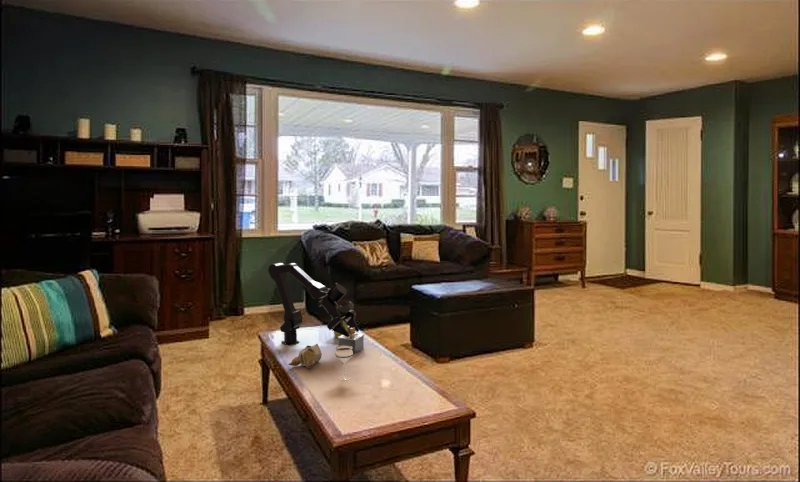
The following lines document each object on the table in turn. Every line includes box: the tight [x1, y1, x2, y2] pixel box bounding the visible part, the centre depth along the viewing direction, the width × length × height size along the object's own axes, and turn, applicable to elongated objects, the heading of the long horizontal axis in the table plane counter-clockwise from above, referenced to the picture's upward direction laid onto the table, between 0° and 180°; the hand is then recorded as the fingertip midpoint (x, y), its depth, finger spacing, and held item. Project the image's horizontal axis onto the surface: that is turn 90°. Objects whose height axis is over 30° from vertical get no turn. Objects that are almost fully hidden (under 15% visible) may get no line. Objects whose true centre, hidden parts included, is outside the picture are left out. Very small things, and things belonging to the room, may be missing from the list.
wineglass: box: [335, 345, 354, 381], centre depth 198 cm, size 7×7×12 cm
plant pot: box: [333, 321, 349, 339], centre depth 255 cm, size 9×9×9 cm
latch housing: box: [337, 332, 365, 355], centre depth 234 cm, size 9×11×7 cm
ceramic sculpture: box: [288, 343, 323, 369], centre depth 213 cm, size 11×9×15 cm
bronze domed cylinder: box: [347, 326, 356, 336], centre depth 232 cm, size 4×4×9 cm
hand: (353, 333), depth 232 cm, fingers open, 9 cm apart
